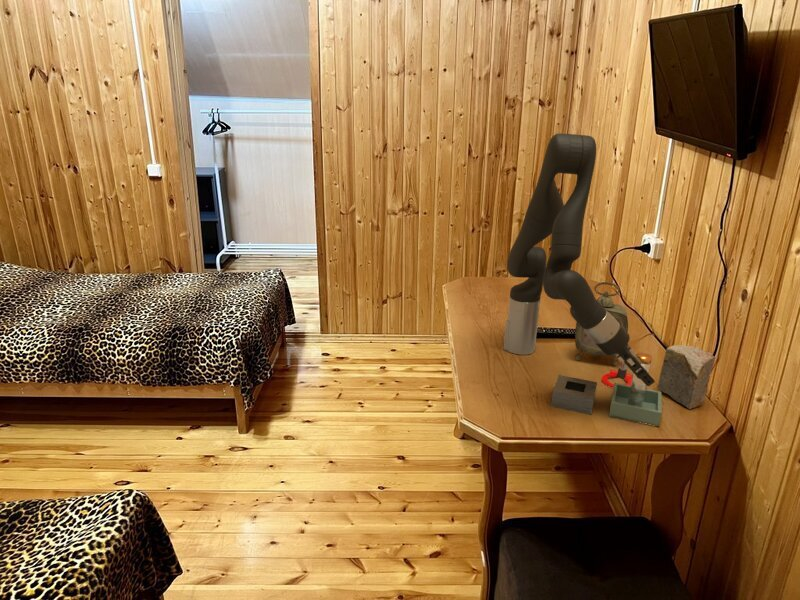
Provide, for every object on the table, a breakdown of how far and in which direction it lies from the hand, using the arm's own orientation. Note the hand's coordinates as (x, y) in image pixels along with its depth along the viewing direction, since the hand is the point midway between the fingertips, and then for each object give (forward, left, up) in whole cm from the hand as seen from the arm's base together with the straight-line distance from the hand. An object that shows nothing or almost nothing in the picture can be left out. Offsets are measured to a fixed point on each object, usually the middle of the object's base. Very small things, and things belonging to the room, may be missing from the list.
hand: (645, 375), depth 144 cm
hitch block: (-16, -2, -10) cm, 19 cm away
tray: (-1, 0, -10) cm, 10 cm away
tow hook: (-6, +15, -11) cm, 19 cm away
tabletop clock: (-13, +28, -10) cm, 32 cm away
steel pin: (-1, 0, -10) cm, 10 cm away
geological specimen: (+10, +12, -10) cm, 18 cm away
